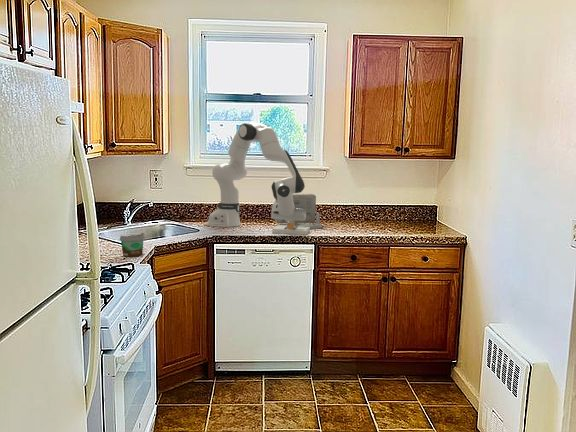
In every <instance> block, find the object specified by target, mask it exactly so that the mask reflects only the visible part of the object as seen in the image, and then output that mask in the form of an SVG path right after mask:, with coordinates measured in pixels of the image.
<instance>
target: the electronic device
mask: <svg viewBox="0 0 576 432" xmlns="http://www.w3.org/2000/svg"><path fill="white" fill-rule="evenodd" d="M320 219H321V217H320V212H316V216H315V222H314V223H307V224H300V225H299V226H302V227H310V230H311V229H322V228H323V223H321V221H320Z"/></svg>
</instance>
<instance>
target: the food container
mask: <svg viewBox="0 0 576 432" xmlns="http://www.w3.org/2000/svg"><path fill="white" fill-rule="evenodd" d="M145 239H146V237H145V233H143V232H141V234H131V235H128V236H127V235H125V236H124V235H120V237H119V241H121V242H120V244H121V252H122V257H123V258H139V257H142V256H143V251H144V250H143V249H144V240H145Z"/></svg>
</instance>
